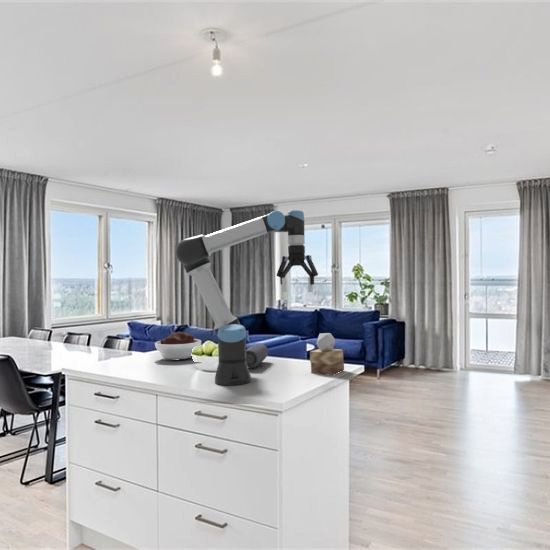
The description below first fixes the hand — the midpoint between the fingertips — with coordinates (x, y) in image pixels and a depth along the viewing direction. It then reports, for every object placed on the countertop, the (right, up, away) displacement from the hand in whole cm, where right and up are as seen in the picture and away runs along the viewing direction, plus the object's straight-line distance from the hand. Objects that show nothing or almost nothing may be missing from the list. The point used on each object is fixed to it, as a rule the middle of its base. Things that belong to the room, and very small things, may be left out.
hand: (297, 292), depth 220 cm
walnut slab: (+14, -37, +1) cm, 39 cm away
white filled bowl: (-63, -38, +46) cm, 86 cm away
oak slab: (+13, -32, +1) cm, 34 cm away
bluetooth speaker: (-20, -37, +20) cm, 47 cm away
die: (+13, -27, +1) cm, 30 cm away
